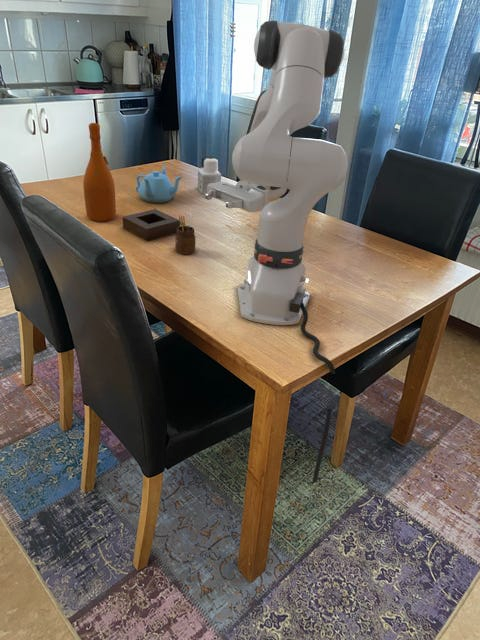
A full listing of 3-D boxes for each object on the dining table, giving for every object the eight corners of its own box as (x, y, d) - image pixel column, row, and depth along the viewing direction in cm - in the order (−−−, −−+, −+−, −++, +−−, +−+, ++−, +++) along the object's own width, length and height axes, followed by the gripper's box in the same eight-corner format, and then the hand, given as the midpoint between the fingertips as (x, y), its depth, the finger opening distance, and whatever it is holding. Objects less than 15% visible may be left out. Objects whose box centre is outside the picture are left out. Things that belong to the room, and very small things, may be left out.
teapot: (131, 194, 187) (130, 167, 182) (167, 190, 194) (167, 164, 188) (145, 206, 177) (144, 178, 171) (183, 202, 183) (183, 175, 178)
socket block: (180, 232, 159) (180, 220, 156) (147, 241, 150) (147, 229, 148) (155, 220, 166) (155, 208, 164) (123, 228, 158) (122, 216, 156)
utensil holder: (198, 248, 148) (199, 210, 142) (190, 256, 143) (191, 217, 137) (179, 245, 149) (179, 207, 143) (171, 253, 144) (171, 214, 138)
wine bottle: (119, 221, 162) (113, 126, 147) (88, 223, 159) (79, 126, 143) (114, 211, 170) (107, 120, 154) (84, 213, 167) (75, 120, 151)
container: (197, 187, 200) (198, 155, 193) (215, 187, 202) (217, 155, 195) (201, 193, 194) (202, 160, 187) (220, 193, 196) (222, 160, 189)
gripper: (225, 175, 160) (193, 181, 151) (272, 191, 148) (241, 199, 140) (224, 193, 163) (193, 201, 155) (270, 211, 152) (239, 220, 143)
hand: (216, 200), depth 147 cm, fingers open, 8 cm apart
